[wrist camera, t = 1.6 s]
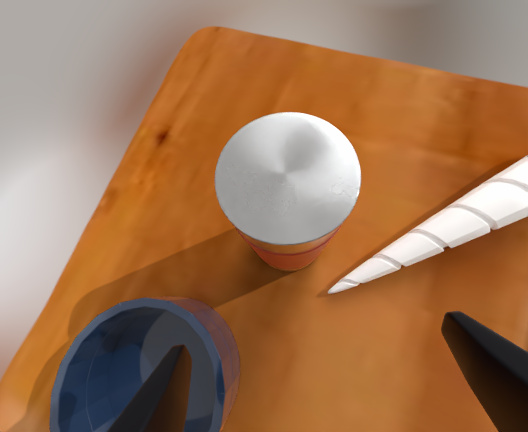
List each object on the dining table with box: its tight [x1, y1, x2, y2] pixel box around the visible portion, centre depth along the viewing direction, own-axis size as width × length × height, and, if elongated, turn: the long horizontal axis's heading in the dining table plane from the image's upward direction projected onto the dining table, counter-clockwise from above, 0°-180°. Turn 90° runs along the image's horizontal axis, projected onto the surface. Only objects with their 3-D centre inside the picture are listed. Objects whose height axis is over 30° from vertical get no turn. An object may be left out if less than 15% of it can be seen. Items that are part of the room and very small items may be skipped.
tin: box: [215, 112, 361, 272], centre depth 16 cm, size 6×6×13 cm
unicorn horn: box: [328, 155, 528, 294], centre depth 19 cm, size 5×24×5 cm, turn 113°
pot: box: [49, 296, 240, 432], centre depth 18 cm, size 11×11×5 cm
